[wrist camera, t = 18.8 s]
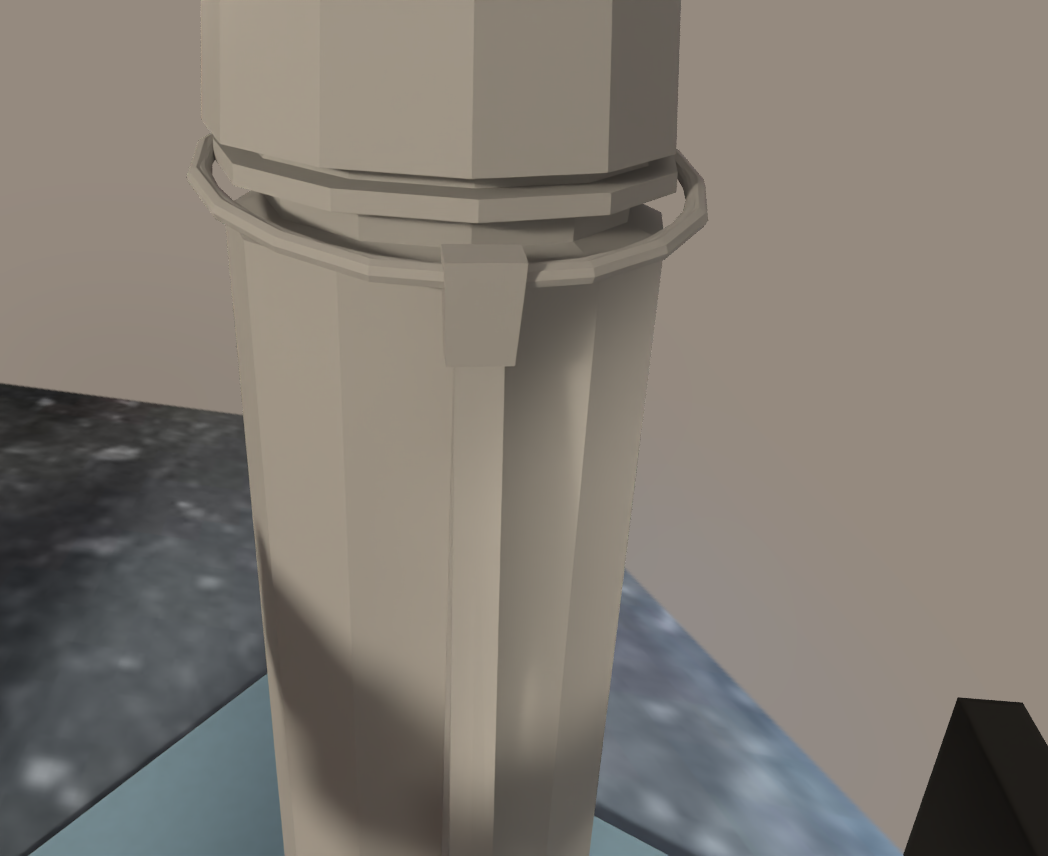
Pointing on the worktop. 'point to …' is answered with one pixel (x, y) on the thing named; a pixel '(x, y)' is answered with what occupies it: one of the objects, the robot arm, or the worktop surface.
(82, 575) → the worktop surface
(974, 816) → the robot arm
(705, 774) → the worktop surface
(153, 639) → the worktop surface
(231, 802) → the blue mat
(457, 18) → the water bottle
